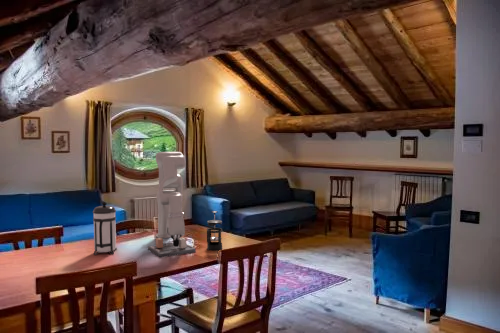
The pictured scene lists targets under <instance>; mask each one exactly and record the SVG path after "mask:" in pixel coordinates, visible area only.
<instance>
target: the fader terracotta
mask: <svg viewBox="0 0 500 333" xmlns="http://www.w3.org/2000/svg"><path fill="white" fill-rule="evenodd" d="M163 244H164V238H159V237H156V238H155V246H156V247H157V248H162V247H163Z"/></svg>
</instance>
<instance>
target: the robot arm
mask: <svg viewBox="0 0 500 333" xmlns="http://www.w3.org/2000/svg"><path fill="white" fill-rule="evenodd" d="M155 161H156V164H157V167H158V189H157V193H156V203H157V220H158V221H157V222H158V223H157V226H158V227H157V229H158V231H157V232H158V233H156V234H155V236H156V238H162V239H167V238H171V239H172V243H173V245H174V246H175V247H178V245H179V239H180V238H182V237H183V236H185V235H186V234H185V231H186V230H185V229H186V227H185V220H184V215H185V212H183V201H184V194H183V191H184V190H183V186H184V184H183V183H184V182H183V176H181V175H180V174H178V170H184V169H185V167H186V165H187V162H186V161H187V160H186V158H185V156H184V154H183V153H182V152H181V151H159V152H157V153H156V154H155Z"/></svg>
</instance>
